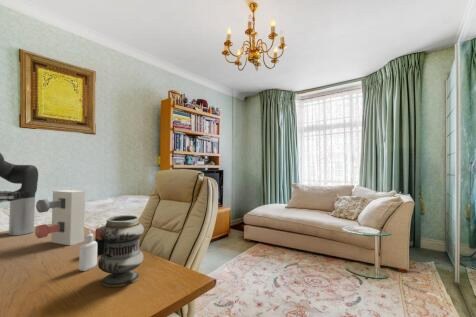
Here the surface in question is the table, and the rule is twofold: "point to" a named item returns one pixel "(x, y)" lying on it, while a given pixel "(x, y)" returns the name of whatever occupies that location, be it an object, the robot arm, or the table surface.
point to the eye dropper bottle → (88, 253)
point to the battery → (99, 241)
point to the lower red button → (45, 230)
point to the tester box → (69, 217)
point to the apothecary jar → (121, 250)
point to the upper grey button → (46, 205)
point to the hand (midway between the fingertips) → (29, 194)
